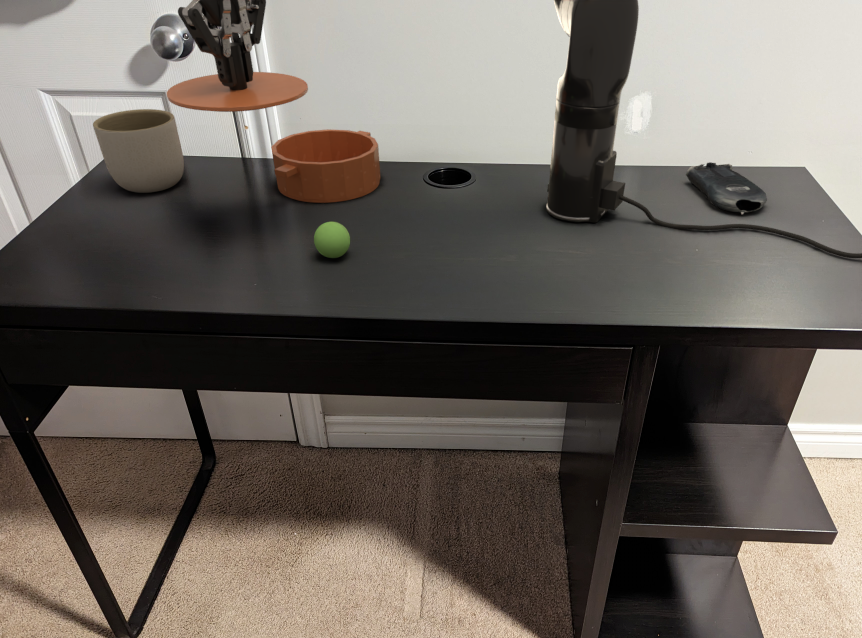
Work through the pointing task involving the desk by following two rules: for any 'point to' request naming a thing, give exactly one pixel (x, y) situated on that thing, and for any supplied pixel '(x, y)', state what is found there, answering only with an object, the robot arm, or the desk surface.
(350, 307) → the desk surface
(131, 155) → the planter
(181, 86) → the lid
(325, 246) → the ball
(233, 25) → the robot arm
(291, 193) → the pan
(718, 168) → the electronic device
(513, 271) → the desk surface
